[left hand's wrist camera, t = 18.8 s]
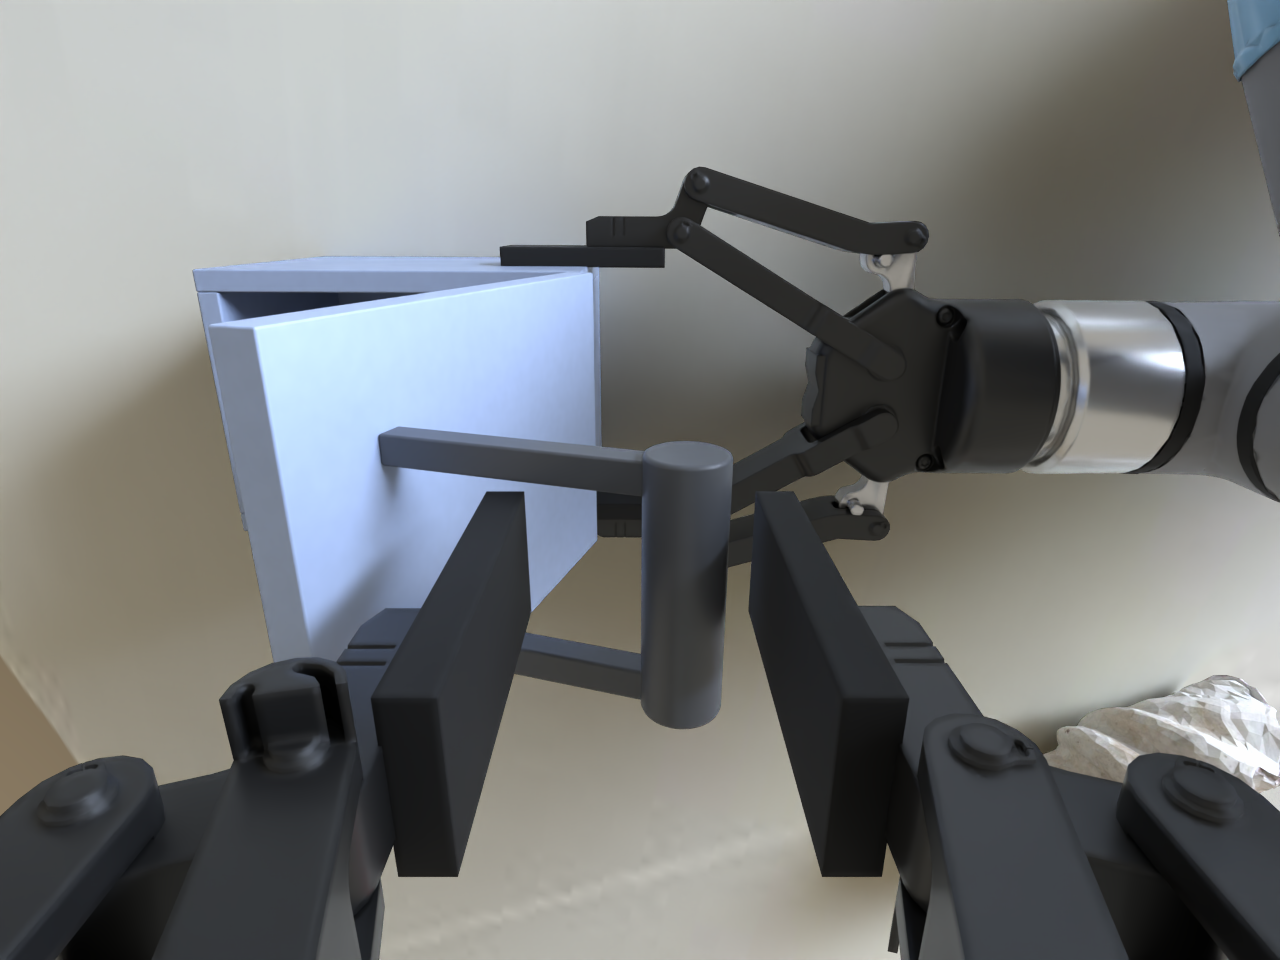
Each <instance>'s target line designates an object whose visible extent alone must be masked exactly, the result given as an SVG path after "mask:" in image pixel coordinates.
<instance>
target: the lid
mask: <svg viewBox="0 0 1280 960" xmlns="http://www.w3.org/2000/svg"><path fill="white" fill-rule="evenodd" d="M208 329H209V334H210V339H211V344H212V349H213V355H214V360H215V365H216V370H217V375H218V380H219V385H220V390H221V395H222V401H223V406H224V411H225V416H226V421H227V426H228V431H229V436H230V441H231V446H232V452H233V457H234V462H235V467H236V472H237V477H238V482H239V487H240V492H241V498H242V503H243V508H244V513H245V518H246V523H247V528H248V533H249V538H250V543H251V549H252V554H253V559H254V564H255V569H256V574H257V579H258V584H259V589H260V594H261V600H262V605H263V610H264V615H265V620H266V625H267V630H268V635H269V640H270V646H271V651H272V656H273V661H274V663H275V662H279V661H284V660H288V659H293V658H306V657H319V658H323V659H327V660H331V661H335V662H336V661H337V660H338V658H339V657H340V655H341V654H342V652H343V651H344V650H345V649H347V648H348V644H349V642H350V641H351V639H352V638H353V636H354V635H355V634H356V632H357V631H358V629H359V628H360V626H361V625H362V624H364V623H365V622H367V621H368V620H369V619H371V618H372V617H374V616H375V615H377V614H378V613H379V612H381V611H382V610H384V609H385V608H421V607H422V605H423V604H424V602H425V600H426V598H427V596H428V595H429V593H430V591H431V589H432V588H433V586H434V584H435V582H436V580H437V579H438V577H439V575H440V573H441V572H442V570H443V568H444V566H445V564H446V563H447V561H448V559H449V557H450V556H451V554H452V552H453V550H454V548H455V547H456V545H457V543H458V541H459V540H460V538H461V536H462V534H463V532H464V531H465V529H466V527H467V525H468V523H469V522H470V520H471V518H472V516H473V515H474V513H475V511H476V509H477V507H478V506H479V504H480V502H481V500H482V499H483V497H484V495H485V493H486V491H524V494H525V511H526V528H527V544H528V561H529V578H530V595H531V612H532V611H533V610H534V609H535V608H536V607H537V606H538V605H539V604H540V603H541V601H542V600H543V599H544V598H545V597H546V596H547V595H548V594H549V593H550V592H551V590H552V589H553V588H554V587H555V586H556V585H557V584H558V583H559V582H560V581H561V580H562V578H563V577H564V576H565V575H566V574H567V573H568V572H569V571H570V570H571V569H572V567H573V566H574V565H575V564H576V563H577V562H578V561H579V560H580V559H581V558H582V557H583V555H584V554H585V553H586V552H587V551H588V550H589V549H590V548H591V547H592V546H593V544H594V543H595V542H596V541H597V498H596V491H600V492H609V493H617V494H626V495H634V496H642V579H641V654H638V653H633V652H628V651H622V650H617V649H612V648H606V647H601V646H595V645H590V644H585V643H579V642H574V641H569V640H563V639H558V638H552V637H547V636H542V635H536V634H531V633H525V636H524V639H523V643H522V647H521V650H520V654H519V657H518V661H517V665H516V668H515V672H514V674H518V675H523V676H528V677H533V678H538V679H542V680H547V681H552V682H557V683H562V684H567V685H572V686H577V687H581V688H586V689H591V690H596V691H601V692H606V693H611V694H615V695H620V696H625V697H630V698H635V699H640V700H641V705H642V708H643V710H644V712H645V713H646V715H647V716H648V717H649V718H650V719H651V720H653V721H654V722H656V723H658V724H660V725H662V726H665V727H669V728H674V729H692V728H697V727H700V726H703V725H705V724H707V723H709V722H710V721H712V720H713V719H714V718H715V717H716V715H717V714H718V712H719V710H720V707H721V691H722V671H723V652H724V632H725V613H726V593H727V574H728V554H729V535H730V515H731V496H732V476H733V456H732V454H731V452H730V451H728V450H727V449H725V448H723V447H720V446H717V445H714V444H710V443H705V442H697V441H673V442H666V443H661V444H657V445H654V446H651V447H649V448H647V449H646V450H645V451H639V450H629V449H619V448H610V447H600V446H596V439H595V380H594V320H593V274H592V273H580V272H566V273H559V274H552V275H545V276H538V277H531V278H524V279H518V280H511V281H504V282H497V283H490V284H483V285H477V286H470V287H463V288H456V289H449V290H442V291H435V292H429V293H422V294H415V295H408V296H401V297H394V298H388V299H381V300H374V301H367V302H360V303H353V304H346V305H340V306H333V307H326V308H319V309H312V310H305V311H299V312H292V313H285V314H278V315H271V316H264V317H257V318H251V319H244V320H237V321H230V322H223V323H216V324H211V325H209V326H208Z"/></svg>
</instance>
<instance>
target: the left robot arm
mask: <svg viewBox="0 0 1280 960" xmlns="http://www.w3.org/2000/svg"><path fill="white" fill-rule="evenodd" d="M530 614H531V595H530V578H529V561H528V544H527V528H526V511H525V494H524V491H486V493H485V495H484V497H483V499H482V500H481V502H480V504H479V506H478V507H477V509H476V511H475V513H474V515H473V516H472V518H471V520H470V522H469V523H468V525H467V527H466V529H465V531H464V532H463V534H462V536H461V538H460V540H459V541H458V543H457V545H456V547H455V548H454V550H453V552H452V554H451V556H450V557H449V559H448V561H447V563H446V564H445V566H444V568H443V570H442V572H441V573H440V575H439V577H438V579H437V580H436V582H435V584H434V586H433V588H432V589H431V591H430V593H429V595H428V596H427V598H426V600H425V602H424V604H423V605H422V607H421V608H385V609H384V610H382V611H381V612H379V613H378V614H377V615H375V616H374V617H372V618H371V619H369V620H368V621H367V622H365V623H364V624H362V625H361V626H360V628H359V629H358V631H357V632H356V634H355V635H354V636H353V638H352V639H351V641H350V642H349V644H348V648H347V649H345V650H344V651H343V652H342V654H341V655H340V657H339V658H338V660H337V661H336V662H335V661H331V660H327V659H323V658H319V657H306V658H293V659H288V660H284V661H279V662H275V663H271V664H269V665H267V666H264V667H262V668H259V669H257V670H254V671H252V672H250V673H248V674H247V675H245V676H244V677H242V678H241V679H239V680H238V681H236V682H235V683H233V684H232V685H231V686H230V687H229V688H228V689H227V690H226V692H225V693H224V694H223V695H222V697H221V698H220V699H219V702H220V706H221V710H222V714H223V718H224V723H225V727H226V731H227V735H228V739H229V743H230V747H231V751H232V755H233V759H234V761H233V763H232V766H231V768H230V769H228V770H224V771H221V772H217V773H214V774H210V775H205V776H201V777H196V778H192V779H187V780H183V781H178V782H174V783H169V784H165V785H160V786H158V784H157V781H156V777H155V774H154V770H153V768H152V767H151V766H150V765H149V764H148V763H147V762H145V761H144V760H143V759H141V758H135V757H129V756H115V757H107V758H99V759H95V760H92V761H88V762H85V763H83V764H82V763H81V764H78V765H76V766H73V767H70V768H68V769H66V770H64V771H62V772H60V773H58V774H56V775H54V776H52V777H50V778H48V779H46V780H44V781H42V782H41V783H40V784H38V785H37V786H36V787H34V788H33V789H32V790H30V791H29V792H28V793H26V794H25V795H24V796H22V797H21V798H20V799H18V800H17V801H16V802H15V803H14V804H13V805H12V806H11V807H10V808H9V809H7V810H6V811H5V812H4V813H3V814H2V815H1V816H0V960H379V957H380V947H381V938H382V928H383V919H384V909H385V905H384V898H383V890H382V884H381V878H380V877H381V875H382V872H383V870H384V867H385V865H386V862H387V860H388V857H389V855H390V852H391V849H392V847H393V846H394V852H395V859H396V865H397V872H398V877H458V874H459V871H460V867H461V864H462V860H463V856H464V853H465V849H466V845H467V842H468V838H469V835H470V831H471V827H472V824H473V820H474V817H475V813H476V809H477V806H478V802H479V798H480V795H481V791H482V788H483V784H484V780H485V777H486V773H487V770H488V766H489V762H490V759H491V755H492V751H493V748H494V744H495V741H496V737H497V733H498V730H499V726H500V723H501V719H502V715H503V712H504V708H505V704H506V701H507V697H508V694H509V690H510V686H511V683H512V679H513V676H514V672H515V668H516V665H517V661H518V657H519V654H520V650H521V647H522V643H523V639H524V636H525V632H526V629H527V625H528V621H529V618H530ZM749 614H750V618H751V621H752V625H753V629H754V632H755V636H756V639H757V643H758V647H759V650H760V654H761V657H762V661H763V665H764V668H765V672H766V676H767V679H768V683H769V686H770V690H771V694H772V697H773V701H774V704H775V708H776V712H777V715H778V719H779V723H780V726H781V730H782V733H783V737H784V741H785V744H786V748H787V751H788V755H789V759H790V762H791V766H792V770H793V773H794V777H795V780H796V784H797V788H798V791H799V795H800V798H801V802H802V806H803V809H804V813H805V817H806V820H807V824H808V827H809V831H810V835H811V838H812V842H813V845H814V849H815V853H816V856H817V860H818V864H819V867H820V871H821V874H822V877H882V872H883V865H884V859H885V852H886V846H887V843H888V846H889V848H890V851H891V854H892V856H893V859H894V861H895V864H896V866H897V869H898V871H899V874H900V878H899V884H898V890H897V896H896V902H895V908H894V914H893V920H892V926H891V932H890V939H889V946H888V951H889V952H893V953H897V952H898V946H899V945H900V955H901V960H1280V811H1279V810H1277V809H1276V808H1275V807H1274V806H1273V805H1272V804H1271V803H1270V802H1269V801H1268V800H1267V799H1266V798H1264V797H1263V796H1262V795H1261V794H1259V793H1258V792H1257V791H1255V790H1254V789H1253V788H1251V787H1250V786H1249V785H1247V784H1246V783H1245V782H1243V781H1242V780H1241V779H1239V778H1237V777H1235V776H1233V775H1231V774H1229V773H1227V772H1225V771H1223V770H1221V769H1219V768H1217V767H1216V766H1214V765H1211V764H1209V763H1206V762H1203V761H1201V760H1196V759H1194V758H1189V757H1186V756H1183V755H1175V754H1167V753H1151V754H1145V755H1139V756H1138V757H1137V758H1135V759H1134V760H1133V761H1132V762H1131V763H1130V764H1128V767H1127V770H1126V774H1125V777H1124V781H1123V783H1121V782H1116V781H1111V780H1107V779H1102V778H1098V777H1093V776H1089V775H1084V774H1080V773H1075V772H1070V771H1067V770H1063V769H1060V768H1056V767H1053V766H1049V765H1048V762H1047V760H1046V758H1045V757H1044V755H1043V754H1042V753H1041V751H1040V750H1039V748H1038V747H1037V745H1036V744H1035V743H1034V742H1032V741H1031V740H1030V739H1029V738H1027V737H1026V736H1025V735H1023V734H1022V733H1021V732H1020V731H1018V730H1017V729H1014V728H1012V727H1010V726H1008V725H1006V724H1004V723H1002V722H1000V721H998V720H995V719H991V718H987V717H984V716H983V715H982V713H981V712H980V710H979V709H978V707H977V706H976V705H975V703H974V702H973V700H972V699H971V697H970V696H969V694H968V693H967V692H966V690H965V689H964V687H963V686H962V684H961V683H960V681H959V680H958V678H957V677H956V676H955V674H954V673H953V671H952V670H951V668H950V667H949V665H948V664H947V663H944V658H943V657H942V655H941V654H940V652H939V651H938V649H937V648H936V647H933V642H932V641H931V639H930V638H929V636H928V635H927V634H926V632H925V631H924V629H923V628H922V626H921V625H920V623H919V622H917V621H916V620H914V619H913V618H911V617H910V616H908V615H907V614H906V613H904V612H903V611H901V610H900V609H898V608H897V607H896V606H858V605H857V604H856V602H855V600H854V598H853V596H852V595H851V593H850V591H849V589H848V588H847V586H846V584H845V582H844V580H843V579H842V577H841V575H840V573H839V572H838V570H837V568H836V566H835V564H834V563H833V561H832V559H831V557H830V556H829V554H828V552H827V550H826V548H825V547H824V545H823V543H822V541H821V540H820V538H819V536H818V534H817V532H816V531H815V529H814V527H813V525H812V523H811V522H810V520H809V518H808V516H807V515H806V513H805V511H804V509H803V507H802V506H801V504H800V502H799V500H798V499H797V497H796V495H795V493H794V491H756V494H755V511H754V528H753V544H752V561H751V578H750V595H749Z"/></svg>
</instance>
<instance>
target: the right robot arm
mask: <svg viewBox="0 0 1280 960" xmlns="http://www.w3.org/2000/svg"><path fill="white" fill-rule="evenodd" d="M1227 3H1228V11H1229V18H1230V26H1231V33H1232V41H1233V48H1234V56H1235V61H1234V64H1233V70H1234V76H1235V77H1236V79H1237V81H1238V82H1240V81H1242V84H1243V88H1244V92H1245V97H1246V101H1247V105H1248V109H1249V113H1250V117H1251V121H1252V125H1253V129H1254V133H1255V137H1256V142H1257V146H1258V150H1259V154H1260V158H1261V162H1262V166H1263V170H1264V174H1265V178H1266V182H1267V187H1268V191H1269V195H1270V199H1271V203H1272V207H1273V211H1274V215H1275V219H1276V223H1277V227H1278V232H1279V236H1280V0H1227ZM707 207H709V208H712V209H715V210H718V211H721V212H724V213H727V214H730V215H733V216H736V217H739V218H742V219H745V220H748V221H751V222H754V223H757V224H760V225H763V226H766V227H769V228H772V229H775V230H778V231H781V232H784V233H788V234H791V235H794V236H797V237H800V238H803V239H806V240H809V241H812V242H815V243H818V244H821V245H824V246H827V247H830V248H833V249H837V250H840V251H845V252H852V253H859V254H860V264H861V267H862V268H863V269H864V270H865V271H866V272H869V273H873V274H876V275H878V276H879V277H880V278H881V279H882V282H883V287H884V289H882V290H881V291H879V292H878V293H876V294H875V295H873V296H872V297H870V298H869V299H867V300H866V301H864V302H863V303H861V304H860V305H859V306H857V307H856V308H854V309H853V310H851V311H850V312H848V313H847V314H845V315H844V316H841V315H840V314H838V313H836V312H835V311H833V310H832V309H830V308H829V307H827V306H825V305H824V304H822V303H820V302H818V301H817V300H815V299H814V298H812V297H811V296H809V295H807V294H806V293H804V292H803V291H801V290H800V289H798V288H797V287H795V286H793V285H792V284H790V283H789V282H787V281H786V280H784V279H783V278H781V277H779V276H778V275H776V274H775V273H773V272H772V271H770V270H769V269H767V268H765V267H764V266H762V265H761V264H759V263H758V262H756V261H755V260H753V259H751V258H750V257H748V256H747V255H745V254H744V253H742V252H741V251H739V250H737V249H736V248H734V247H733V246H731V245H730V244H728V243H726V242H725V241H723V240H722V239H720V238H719V237H717V236H716V235H714V234H712V233H711V232H709V231H708V230H706V229H705V228H703V227H702V226H700V225H701V222H702V220H703V217H704V214H705V212H706V209H707ZM928 238H929V233H928V229H927V227H926V226H925V225H924V224H923V223H921V222H917V221H893V222H874V223H869V222H866V221H863V220H860V219H857V218H854V217H851V216H848V215H845V214H842V213H839V212H836V211H833V210H830V209H827V208H824V207H821V206H818V205H815V204H812V203H809V202H806V201H804V200H801V199H798V198H795V197H792V196H789V195H786V194H783V193H780V192H777V191H774V190H771V189H768V188H765V187H762V186H759V185H756V184H753V183H750V182H747V181H744V180H741V179H738V178H735V177H732V176H729V175H726V174H723V173H720V172H717V171H714V170H711V169H708V168H705V167H697V168H694V169H692V170H691V171H690V172H689V173H688V174H687V175H686V176H685V178H684V180H683V182H682V185H681V188H680V191H679V194H678V196H677V199H676V202H675V204H674V206H673V208H672V209H671V211H670V212H669V213H667V214H666V215H663V216H658V217H630V216H598V217H596V218H594V219H591V220H589V221H586V241H587V246H581V245H509V246H502V247H500V260H501V266H576V267H628V268H665V249H678V250H680V251H681V252H683V253H684V254H686V255H688V256H689V257H691V258H692V259H694V260H695V261H697V262H699V263H700V264H702V265H703V266H705V267H707V268H708V269H710V270H711V271H713V272H714V273H716V274H718V275H719V276H721V277H722V278H724V279H726V280H727V281H729V282H730V283H732V284H733V285H735V286H737V287H738V288H740V289H741V290H743V291H745V292H746V293H748V294H749V295H751V296H752V297H754V298H756V299H757V300H759V301H760V302H762V303H764V304H765V305H767V306H768V307H770V308H771V309H773V310H775V311H776V312H778V313H779V314H781V315H783V316H784V317H786V318H787V319H789V320H790V321H792V322H794V323H795V324H797V325H798V326H800V327H802V328H803V329H805V330H806V331H808V332H809V333H811V334H813V335H814V336H816V338H815V339H814V340H813V342H812V344H811V347H810V348H807V349H806V362H805V366H806V371H807V377H808V385H807V388H806V390H805V393H804V396H803V399H802V410H801V416H802V417H803V418H804V420H805V422H804V423H802V424H800V425H798V426H796V427H794V428H793V429H791V430H789V431H788V432H786V433H785V434H784V436H783V437H782V438H781V439H780V440H778V441H776V442H774V443H772V444H770V445H769V446H767V447H765V448H763V449H761V450H759V451H757V452H756V453H754V454H752V455H750V456H748V457H746V458H744V459H743V460H741V461H739V462H737V463H735V464H733V476H732V496H731V514H733V513H735V512H737V511H739V510H741V509H743V508H745V507H747V506H748V505H750V504H752V503H754V502H755V494H756V491H777V490H779V489H781V488H783V487H785V486H787V485H788V484H790V483H792V482H794V481H796V480H798V479H800V478H802V477H805V476H815V475H817V474H819V473H821V472H823V471H825V470H827V469H829V468H831V467H832V466H834V465H836V464H838V463H840V462H842V461H845V462H846V463H847V464H849V465H850V466H851V467H853V468H854V469H855V470H857V471H858V472H859V473H861V474H862V475H861V478H860V479H859V481H857V482H856V483H855V484H853V485H849V486H844V487H841V488H840V489H839V490H838V491H837V493H836V495H835V496H822V497H816V498H811V499H807V500H804V501H800V504H801V506H802V507H803V509H804V511H805V513H806V515H807V516H808V518H809V520H810V522H811V523H812V525H813V527H814V529H815V531H816V532H817V534H818V536H819V538H820V540H821V541H822V543H823V542H827V541H831V540H834V539H854V540H872V541H876V540H881V539H883V538H884V537H885V536H886V535H887V534H888V533H889V530H890V524H889V522H888V520H887V519H886V518H885V517H884V515H883V511H884V506H885V501H886V495H887V490H888V485H889V482H890V481H893V480H895V479H897V478H899V477H901V476H904V475H906V474H909V473H914V472H929V473H1012V472H1015V471H1017V470H1019V469H1021V470H1023V471H1024V472H1027V473H1032V474H1076V473H1123V474H1139V473H1149V474H1195V475H1207V476H1214V477H1219V478H1223V479H1226V480H1229V481H1231V482H1234V483H1236V484H1238V485H1240V486H1243V487H1245V488H1247V489H1250V490H1252V491H1254V492H1256V493H1259V494H1261V495H1263V496H1266V497H1268V498H1270V499H1272V500H1275V501H1277V502H1280V301H1219V302H1156V301H1115V300H1041V301H1039V302H1036V303H1034V304H1032V303H1030V302H1028V301H1025V300H1020V299H931V298H928V297H926V296H924V295H922V294H921V293H919V292H918V291H916V290H914V285H915V272H916V259H917V252H919V251H920V250H922V249H923V248H924V247H925V245H926V244H927V242H928ZM596 498H597V535H599V536H602V537H642V496H634V495H626V494H617V493H609V492H600V491H596ZM753 528H754V514H752V515H748V516H744V517H740V518H737V519H733V520H730V535H729V554H728V567H731V566H735V565H739V564H743V563H747V562H751V561H752V544H753Z"/></svg>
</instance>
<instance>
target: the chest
mask: <svg viewBox="0 0 1280 960" xmlns="http://www.w3.org/2000/svg"><path fill="white" fill-rule="evenodd" d="M566 272H580V273H592V274H593V320H594V380H595V439H596V446H600V447H602V443H601V371H600V299H599V267H576V266H501V260H500V257H357V256H323V257H313V258H303V259H293V260H283V261H273V262H263V263H253V264H243V265H233V266H223V267H213V268H203V269H194V270H193V276H194V281H195V286H196V291H198V293H197V295H198V301H199V306H200V311H201V316H202V321H203V326H204V331H205V336H206V341H207V346H208V351H209V356H210V361H211V366H212V371H213V376H214V381H215V386H216V391H217V397H218V402H219V407H220V412H221V417H222V422H223V427H224V432H225V437H226V442H227V447H228V452H229V457H230V462H231V467H232V472H233V477H234V482H235V487H236V492H237V498H238V503H239V508H240V512H241V513H242V514H241V517H242V522H243V527H244V530H245V531H248V528H247V523H246V518H245V513H244V508H243V503H242V498H241V492H240V487H239V482H238V477H237V472H236V467H235V462H234V457H233V452H232V446H231V441H230V436H229V431H228V426H227V421H226V416H225V411H224V406H223V401H222V395H221V390H220V385H219V380H218V375H217V370H216V365H215V360H214V355H213V349H212V344H211V339H210V334H209V329H208V326H209V325H211V324H216V323H223V322H230V321H237V320H244V319H251V318H257V317H264V316H271V315H278V314H285V313H292V312H299V311H305V310H312V309H319V308H326V307H333V306H340V305H346V304H353V303H360V302H367V301H374V300H381V299H388V298H394V297H401V296H408V295H415V294H422V293H429V292H435V291H442V290H449V289H456V288H463V287H470V286H477V285H483V284H490V283H497V282H504V281H511V280H518V279H524V278H531V277H538V276H545V275H552V274H559V273H566Z"/></svg>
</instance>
